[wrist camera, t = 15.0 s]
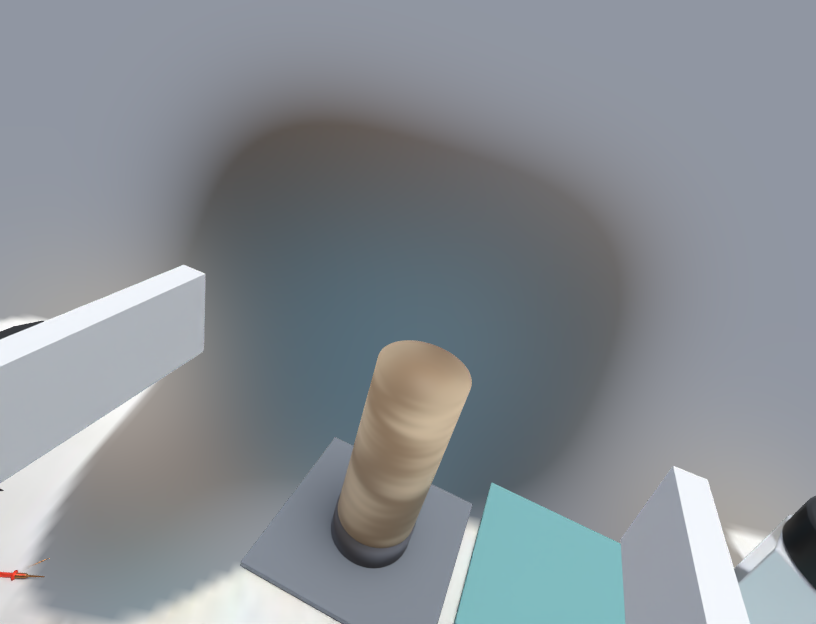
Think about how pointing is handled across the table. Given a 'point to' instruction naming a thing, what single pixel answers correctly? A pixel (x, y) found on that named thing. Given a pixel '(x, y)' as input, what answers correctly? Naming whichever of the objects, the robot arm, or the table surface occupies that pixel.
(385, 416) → the banded sleeve
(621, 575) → the teal seat
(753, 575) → the jar
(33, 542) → the table surface
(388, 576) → the slate seat
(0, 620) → the table surface
